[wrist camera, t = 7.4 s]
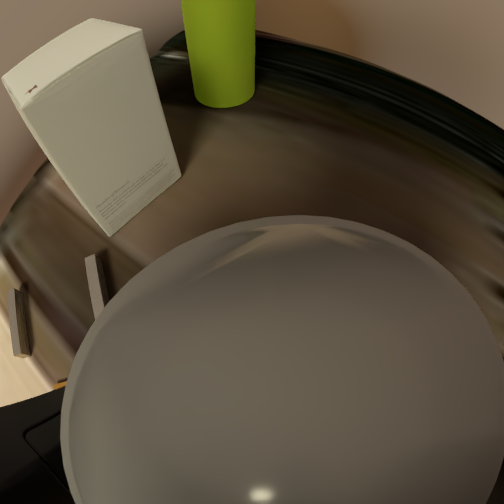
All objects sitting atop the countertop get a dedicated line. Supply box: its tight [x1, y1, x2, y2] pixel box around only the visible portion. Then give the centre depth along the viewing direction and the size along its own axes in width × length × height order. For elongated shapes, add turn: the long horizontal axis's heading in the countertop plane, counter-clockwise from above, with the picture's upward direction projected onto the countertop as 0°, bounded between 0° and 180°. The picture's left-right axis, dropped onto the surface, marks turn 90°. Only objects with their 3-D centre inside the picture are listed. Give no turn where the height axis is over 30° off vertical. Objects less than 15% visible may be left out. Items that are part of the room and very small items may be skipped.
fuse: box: [60, 215, 504, 504], centre depth 8 cm, size 5×5×12 cm
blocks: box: [7, 254, 109, 390], centre depth 17 cm, size 10×8×1 cm
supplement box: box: [2, 18, 181, 237], centre depth 17 cm, size 7×7×13 cm
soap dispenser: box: [181, 0, 255, 108], centre depth 19 cm, size 6×7×20 cm
